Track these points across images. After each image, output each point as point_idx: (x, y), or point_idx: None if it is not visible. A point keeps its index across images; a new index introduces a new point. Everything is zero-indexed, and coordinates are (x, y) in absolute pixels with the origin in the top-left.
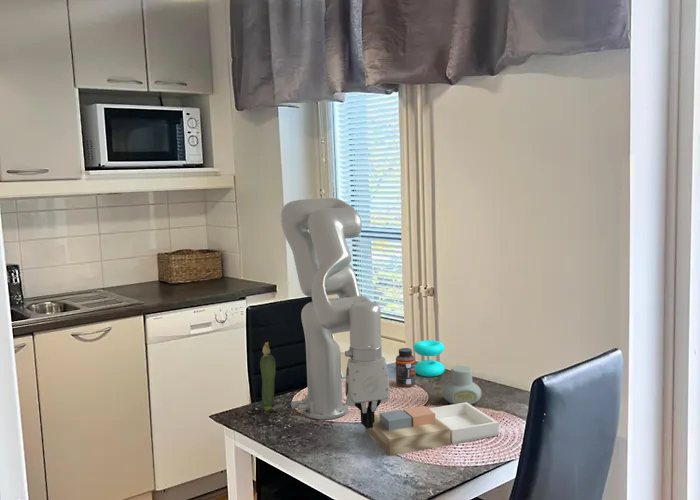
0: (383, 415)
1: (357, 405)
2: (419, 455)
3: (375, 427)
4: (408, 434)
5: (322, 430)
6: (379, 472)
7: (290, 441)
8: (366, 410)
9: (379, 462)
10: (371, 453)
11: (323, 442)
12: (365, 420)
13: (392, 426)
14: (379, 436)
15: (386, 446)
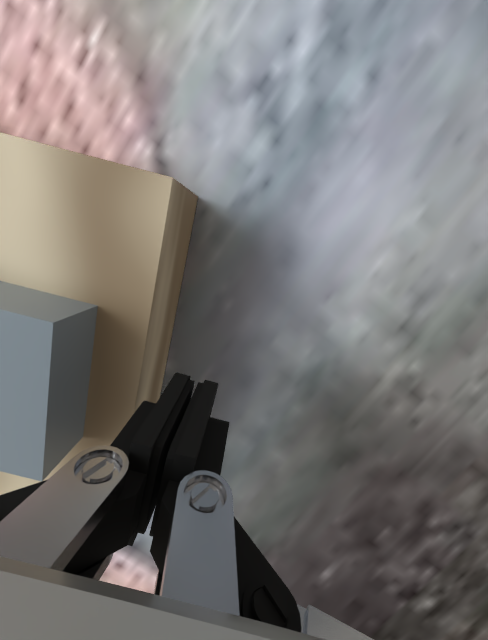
0: (37, 432)
1: (281, 606)
2: (68, 97)
3: (138, 401)
4: (15, 165)
5: (277, 567)
6: (369, 44)
7: (436, 563)
8: (184, 489)
9: (288, 160)
10: (254, 277)
11: (346, 488)
12: (208, 430)
13: (57, 305)
14: (159, 336)
15: (181, 239)
